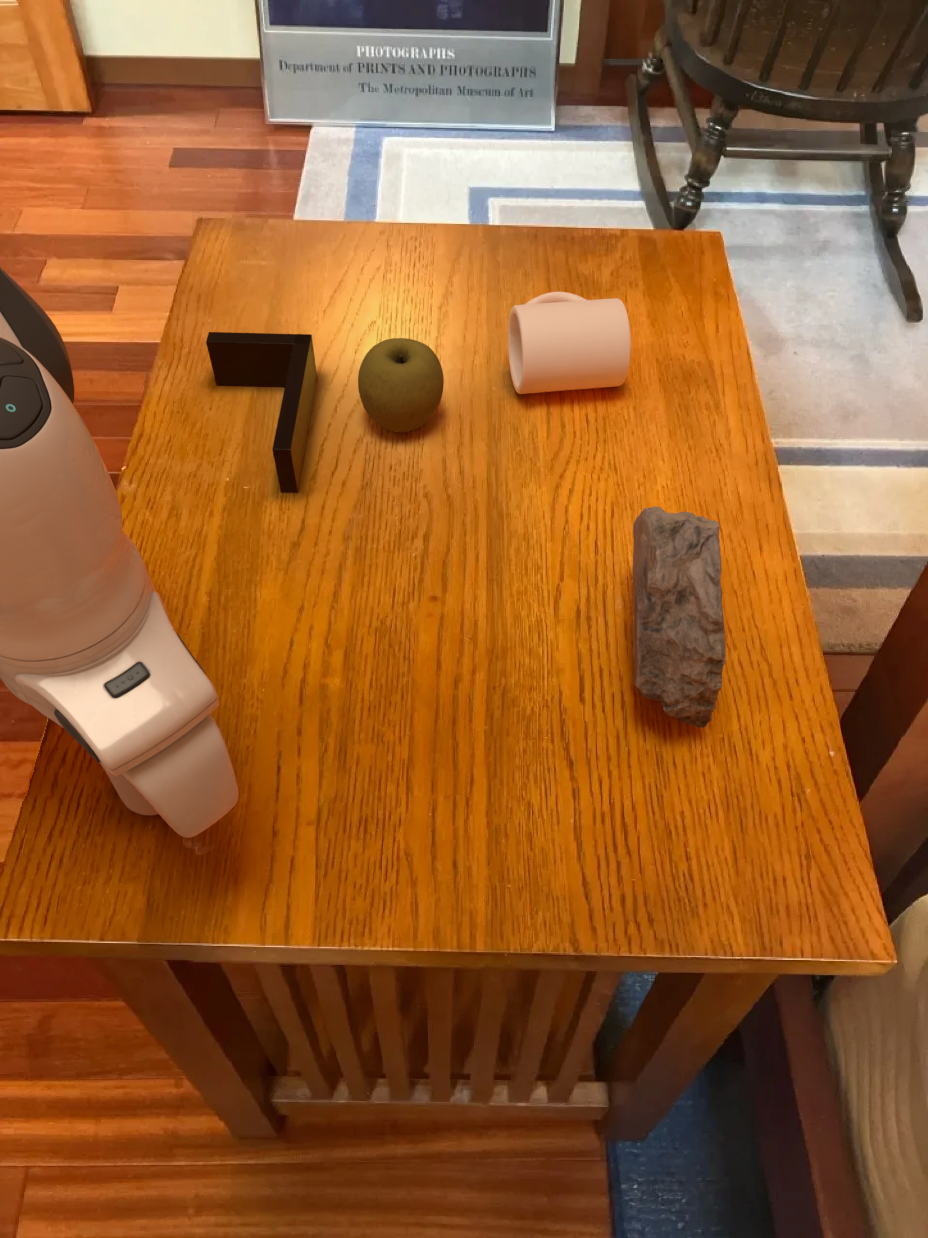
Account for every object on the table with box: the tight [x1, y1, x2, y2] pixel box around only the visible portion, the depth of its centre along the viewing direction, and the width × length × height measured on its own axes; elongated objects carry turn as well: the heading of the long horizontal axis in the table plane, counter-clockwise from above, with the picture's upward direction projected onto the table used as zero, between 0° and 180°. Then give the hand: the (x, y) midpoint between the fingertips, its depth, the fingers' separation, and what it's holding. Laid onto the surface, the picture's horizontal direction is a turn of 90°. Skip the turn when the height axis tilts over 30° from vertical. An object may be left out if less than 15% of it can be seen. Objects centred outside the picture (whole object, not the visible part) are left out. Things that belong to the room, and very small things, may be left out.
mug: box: [507, 291, 632, 395], centre depth 88 cm, size 12×10×8 cm
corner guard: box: [205, 331, 318, 493], centre depth 83 cm, size 10×16×5 cm, turn 179°
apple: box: [357, 337, 445, 433], centre depth 84 cm, size 8×8×7 cm
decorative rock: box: [632, 505, 727, 729], centre depth 65 cm, size 16×7×15 cm, turn 173°
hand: (142, 752), depth 60 cm, fingers closed on beverage can, 5 cm apart
